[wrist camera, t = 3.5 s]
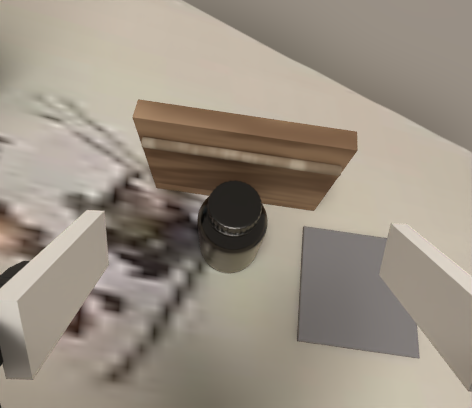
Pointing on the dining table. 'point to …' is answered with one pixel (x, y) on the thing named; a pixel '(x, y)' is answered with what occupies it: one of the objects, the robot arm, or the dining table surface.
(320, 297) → the rubber mat
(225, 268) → the supplement bottle
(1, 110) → the dining table surface
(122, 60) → the dining table surface
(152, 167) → the board
